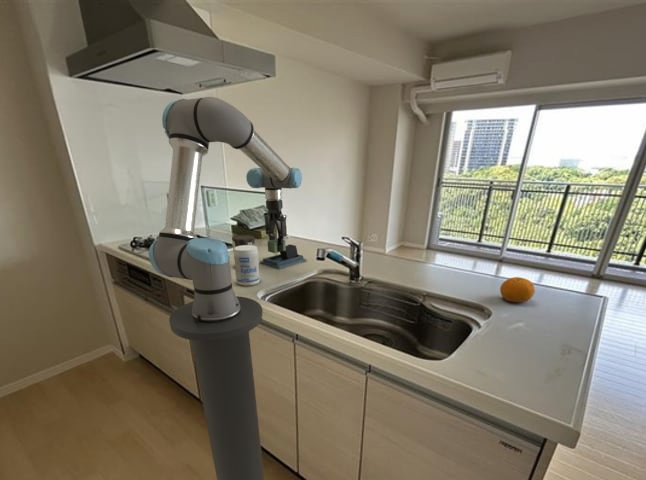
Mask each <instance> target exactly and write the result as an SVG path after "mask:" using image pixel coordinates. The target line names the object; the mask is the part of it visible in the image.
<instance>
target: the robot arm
mask: <svg viewBox="0 0 646 480" xmlns="http://www.w3.org/2000/svg"><path fill="white" fill-rule="evenodd" d="M161 123H162V128H163V129H164V133H165V136H166V137H167V139H168V144H169V145H170V147H171V148H172V158H171V168H170V177H169V185H168V187H169V188H168V196H167V204H166V205H167V206H166V214H165V226H164V228H163V229H161V230H160V231H159V233H158V238H157V239H156V240H154V241H153V243H152V244H151V245H150V246H149V249H148V259H149V262H150V264H151V267H152V268H153V269H154V271H156V272H157V273H158V274H160V275H162V276H166V277H168V278H177V279H182V280H188V281H192V285H193V291H194V296H193V301H192V302H193V306H192V315H193V318H194V319H195V322H196V323H197V322H198V321H200V322H206V323H214V322H222V321H226V320H229V319H232V318H234V317H236V316H237V315H238V314H239V313H240V312H241V307H240V303H239V301H238V299H237V297H236V296H237V294H236V293H235V291H234V288H233V280H232V271H231V262H230V258H231V257H230V254H229V250H228V247H227V244H226V243H225V242H224V241H222V240H220V239H216V238H210V237H207V238H205V237H198V236H197V235H196V233H195V225H196V218H197V216H196V215H197V209H198V198H199V190H200V181H201V174H202V173H201V172H202V163H203V157H205V156H206V155H208V153H209V146H210V143H223V144H227V145H229V146H230V147H231V148H232V149H235V150H240V151H241V152H242V153H243V154H244V155H246V157H247V158H248V159H250V160H251V161H252V162H253V164H255V165H256V166H258V167H254V168H250V169H249V170H248V171H247V172H246V175H245V177H246V182H247V184H248V186H249V187H250V188H252V189H260V188H261V189H263V188H264V198H265V208H266V210H267V212H263V216H264V225H265V228H264V229H265V234H266V235H267V236H268V241H270V240H275V239H277V241H278V253H280V252H282V251H283V244H284V240H285V239H284V238H286V237H287V236H288V235H287V215H286V214H283V212H282V209H283V207H284V206H283V200H282V199H283V190H282V189H299V188H300V187H301V185H302V180H303V175H302V171H301V169H300V168H298V167H293V166H292V167H290V166H289V164H287V163H286V162H285V161H284V160H283V159H282V157H280V156H279V154H278V153H276V151H275V150H274V149H273V148H272V147H271V146H270V145H269V144H268V143H267V142H266V141H265V140H264V139H263V138H262V136H261V135H260V134H259V133H258V132H257V131H256V130H255V127H254V124H253V122H252V121H251V120H250V119H249V118H248V117H247V116H246V115H245V114H244V113H243V112H241V111H240V110H239V109H238V108H236V107H235V106H233V105H232V104H230V103H229V102H227V101H225V100H223V99H221V98H218V97H214V96H204V97H197V98H189V99H187V98H181V99H176V100H174V101H170V102H169V103H168V104H167V105H166V106H165V108H164V109H163V111H162V117H161ZM275 227H276V232H277V238H276V233H275Z"/></svg>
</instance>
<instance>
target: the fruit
mask: <svg viewBox="0 0 646 480" xmlns="http://www.w3.org/2000/svg"><path fill="white" fill-rule="evenodd" d="M499 291H500V295H501V296H502V298H503V299H504V300H506V301H507V302H511V303H524V302H528V301H529V300H531V299H532V298H533V297H534V296H535V291H536V288H535V285H534V283H533V282H532V281H531V280H530V279H527V278H524V277H519V276H513V277H509V278H508V279H505V281H503V282H502V284H501V285H500V288H499Z"/></svg>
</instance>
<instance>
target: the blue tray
mask: <svg viewBox="0 0 646 480" xmlns="http://www.w3.org/2000/svg"><path fill="white" fill-rule="evenodd" d="M304 262H307V258H304V255H301V254H298V255H297V256H295V257H293V258H291V259H287V260H284V259H281V255H280V253H279V254H276V255H272V256H267V257H263V258H262V260H260V263H259V264H262V265H265V266H269V267H272V268H275V269H278V270H279V269H284V268H286V267H291V266H293V265H297V264H301V263H304Z"/></svg>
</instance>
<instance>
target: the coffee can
mask: <svg viewBox="0 0 646 480" xmlns="http://www.w3.org/2000/svg"><path fill="white" fill-rule="evenodd" d="M231 240H232V249H233V250H232V251H233V252H234V248H235V247H237V246H242V245H253V246H256V244H255V243H256V242H255V235H251V234H237V235H232V236H231ZM233 259H234V258H233ZM234 261H235V259H234Z"/></svg>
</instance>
